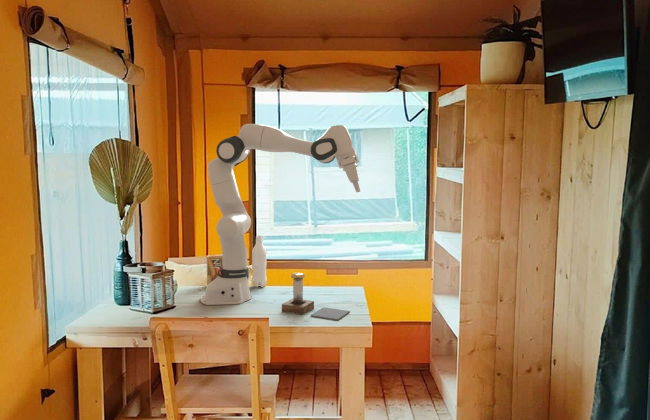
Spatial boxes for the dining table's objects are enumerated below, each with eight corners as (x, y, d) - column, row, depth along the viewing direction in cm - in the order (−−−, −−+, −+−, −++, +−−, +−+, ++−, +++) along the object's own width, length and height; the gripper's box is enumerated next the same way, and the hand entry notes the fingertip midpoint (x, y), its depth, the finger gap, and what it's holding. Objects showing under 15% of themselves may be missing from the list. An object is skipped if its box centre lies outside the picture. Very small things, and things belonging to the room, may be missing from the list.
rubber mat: (337, 320, 206) (337, 319, 205) (310, 316, 211) (310, 315, 211) (349, 312, 216) (349, 311, 216) (323, 308, 221) (323, 307, 221)
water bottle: (264, 288, 254) (263, 237, 251) (250, 287, 255) (249, 237, 252) (268, 284, 261) (268, 235, 258) (255, 284, 262) (254, 234, 259)
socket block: (303, 314, 213) (303, 307, 213) (281, 311, 217) (281, 304, 217) (314, 307, 222) (314, 301, 222) (293, 304, 226) (293, 298, 226)
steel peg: (293, 312, 216) (293, 276, 215) (289, 308, 222) (289, 273, 220) (306, 310, 218) (306, 275, 217) (302, 307, 223) (302, 272, 222)
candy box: (224, 284, 261) (224, 254, 260) (226, 286, 257) (225, 255, 256) (206, 285, 258) (206, 255, 256) (208, 287, 254) (207, 256, 253)
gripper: (342, 165, 234) (352, 194, 234) (339, 162, 213) (350, 194, 213) (355, 160, 233) (365, 189, 233) (354, 157, 213) (365, 189, 213)
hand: (358, 192), depth 223 cm, fingers open, 8 cm apart
